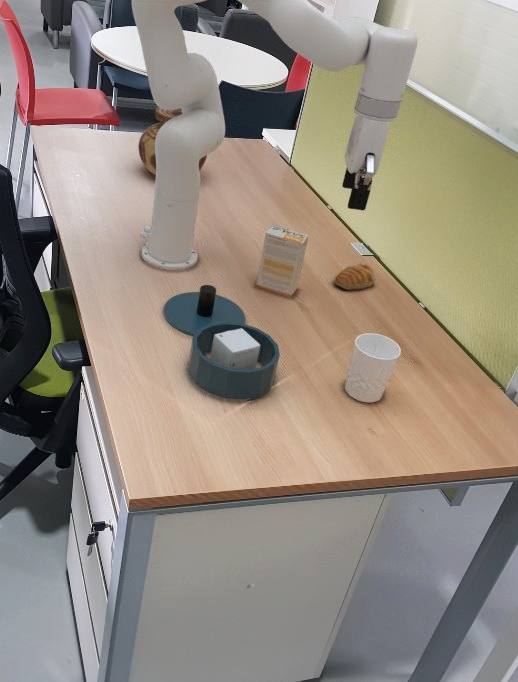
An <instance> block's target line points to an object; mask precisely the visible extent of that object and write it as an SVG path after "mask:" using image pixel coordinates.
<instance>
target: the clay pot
mask: <svg viewBox="0 0 518 682" xmlns="http://www.w3.org/2000/svg"><path fill="white" fill-rule="evenodd" d="M181 114H183V113H182V109H181V108H179V109H176V110H164V109H162V108H160V107H159V106H158V105H157V106H156V107H155V109H154V117H155V120H157V121H159V122H157V123H153V124H152V125H150V126H148V127H147V128H146V129H145V130H144V131H143V132H142V134H141V136H140V137H139V141H138V154H139V158H140V160H141V162H142V165H143V166H144V167H145V168H146V170H148V171H149V172H150V173H151V174H153V175H154V176H156V154H155V139H156V135H157V133H158V131H159V129H160V128H161V127H162V126H163V125H164V124H165V123H166V122H167V121H169V120H170V119H172V118H174V117H177V116H179V115H181ZM207 157H208V155H206V156H204V157H203V158H201V159H200V160H199V172H200V171H201V170H202V168H203V167H204V165H205V162H206V160H207Z"/></svg>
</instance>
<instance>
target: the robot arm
mask: <svg viewBox="0 0 518 682" xmlns="http://www.w3.org/2000/svg"><path fill="white" fill-rule="evenodd" d="M206 1H207V0H131V1H130V2H131V10H132V16H133V19H134V22H135V26H136V29H137V32H138V38H139V41H140V46H141V50H142V56H143V61H144V65H145V69H146V74H147V75H146V76H147V79H148V84H149V89H150V93H151V96H152V100H153V101H154V103H155V104H156V106H157V107H158V106H159V107H160V108H162V109H164V110H176V109H179V108H181V109H182V113H183V114H181V115H179V116H177V117H174V118H172V119H170V120H169V121H167V122H166V123H165V124H164V125H163V126H162V127H161V128H160V129H159V131H158V133H157V135H156V139H155V154H156V175H155V180H154V181H155V182H154V195H153V205H152V213H151V214H152V215H151V225H149V224H146V225H145V226H144V227H143V230H141V231H140V233H139V236H140V237H141V238H143V239H145V241H146V242H145V245H143V246H142V248H141V258H142V259H143V260H144V262H147V263H148V264H150V265H151V266H154V267H157V268H161V269H166V270H183V269H188V268H191V267H192V266H194V265H195V264H196V263H197V262H198V258H199V257H198V253H197V251H196V250H195V249H194V248H193V243H194V235H195V230H196V222H197V221H196V220H197V215H198V208H199V207H198V206H199V199H200V193H201V173H200V171H199V160H200V159H201V158H203V157H204V156H206V155H207V156H208V155H210V154H211V153H213V152H215V151H216V150H218V149H219V148H220V146H222V144H223V142H224V140H225V136H226V122H225V115H224V110H223V103H222V99H221V93H220V88H219V82H218V78H217V74H216V71H215V69H214V66H213V65H212V64H211V62H210V61H209V59H207V58H206V57H205V56H203V55H202V54H201V53H196V52H188V49H187V43H186V39H185V32H184V29H183V27H182V25H181V23H180V21H179V19H178V17H177V16H176V13H175V10H176V8H178V7H182V6H183V7H184V6H188V5H194V4H198V3H202V2H206ZM237 2H239V3H240V4H242V5H243V6H245V7H246V8H248V9H250V10H251V11H252V12H254V14H257V16H260V17H261V18H263V19H264V20H265V21H266V22H267V23H269V25H270V27H271V29H272V30H273V32H275V33H276V34H277V36H278V37H279V38H280V40H281V41H283V43H284V44H285V45H287V46H288V47H289V48H290V49H291V50H293V51H294V52H295V53H296V54H298V55H300V56H301V57H303V58H304V59H305V60H307V61H308V62H310V63H311V64H313V65H314V66H316V67H318V68H320V69H322V70H324V71H327V72H333V73H338V72H339V73H340V72H342V71H345V70H347V69H349V68H351V67H354V66H359V65H363V72H362V75H361V79H360V83H359V88H358V92H357V96H356V99H355V104H354V108H353V112H354V113H355V118H354V120H353V124H352V127H351V131H350V134H349V138H348V141H347V145H346V148H345V151H344V162H345V165H346V168H345V172H344V177H343V181H342V185H341V186H342V188H343V189H349V190H351V191H350V195H349V198H348V202H347V208H348V209H350V210H355V211H365V210H366V208H367V206H368V205H367V204H368V201H369V198H370V194H371V190H372V184H373V177H375V176H376V175H377V173H378V171H379V167H380V164H381V161H382V157H383V153H384V150H385V147H386V146H385V145H386V142H387V137H388V134H389V133H388V132H389V128H390V124H391V122H394V121H396V120H397V119H398V116H399V112H400V108H401V105H402V102H403V98H404V94H405V91H406V87H407V83H408V80H409V76H410V73H411V70H412V66H413V62H414V59H415V54H416V51H417V47H418V37H417V35H416V34H415V33H414V32H412V31H410V30H407V29H403V28H398V27H390V26H385V25H381V24H379V23H377V22H374V21H372V20H370V19H367V18H364V17H359V16H351V17H347V18H344V19H341V20H338V21H337V20H335V19H334V18H332V17H330V15H329V16H328V14H326V13H324V12H323V11H321V10H319V9H318V8H317V7H316V6H314V5H313V4H312V3H311V2H310V1H309V0H237Z"/></svg>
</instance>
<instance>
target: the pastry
mask: <svg viewBox="0 0 518 682" xmlns="http://www.w3.org/2000/svg"><path fill="white" fill-rule="evenodd" d="M375 283H376V275H375V274H374V270H373V268H372V267H371V266H370V265H368V264H364V263H362V262H361V263H360V262H359V263H358V264H354V265H349V266H347V267H345V268H344V269H342V270H341V271H340V272H339V273H338V274H337V275H336V276H335V280H334V284H335V285H336V286H338V287H340V288H342V289H345V290H347V291H348V290H349V291H352V290H363V289H366V288H369V287H371V286H372V285H374V284H375Z"/></svg>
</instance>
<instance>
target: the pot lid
mask: <svg viewBox="0 0 518 682" xmlns="http://www.w3.org/2000/svg"><path fill="white" fill-rule="evenodd" d="M163 316H164V318H165V320H166V321H167V322H168V324H169V325H170V326H171V327H173V328H174V329H175V330H178V331H179V332H182V333H184V334H186V335H189V336H191V337H193V336H194V335H195V333H196V332H197V331H198V329H200V328H202V327H204V326H206V325H208V324H211V323H219V322H235V323H243V324H245V323H246V316H245V312H244V310H243V309H242V308H241V307H240V306H239V305H238V304H237V303H235V302H234V301H233V300H231V299H230V298H227V297H225V296H222V295H219V294H217V288H216V287H215V286H214V285H211V284H203V285H201V286H200V287H199V291H189V292H188V291H187V292H182V293H179V294H176V295H173V296H171V298H169V299H168V300H167V301H166V302H165V304H164V306H163Z"/></svg>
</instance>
